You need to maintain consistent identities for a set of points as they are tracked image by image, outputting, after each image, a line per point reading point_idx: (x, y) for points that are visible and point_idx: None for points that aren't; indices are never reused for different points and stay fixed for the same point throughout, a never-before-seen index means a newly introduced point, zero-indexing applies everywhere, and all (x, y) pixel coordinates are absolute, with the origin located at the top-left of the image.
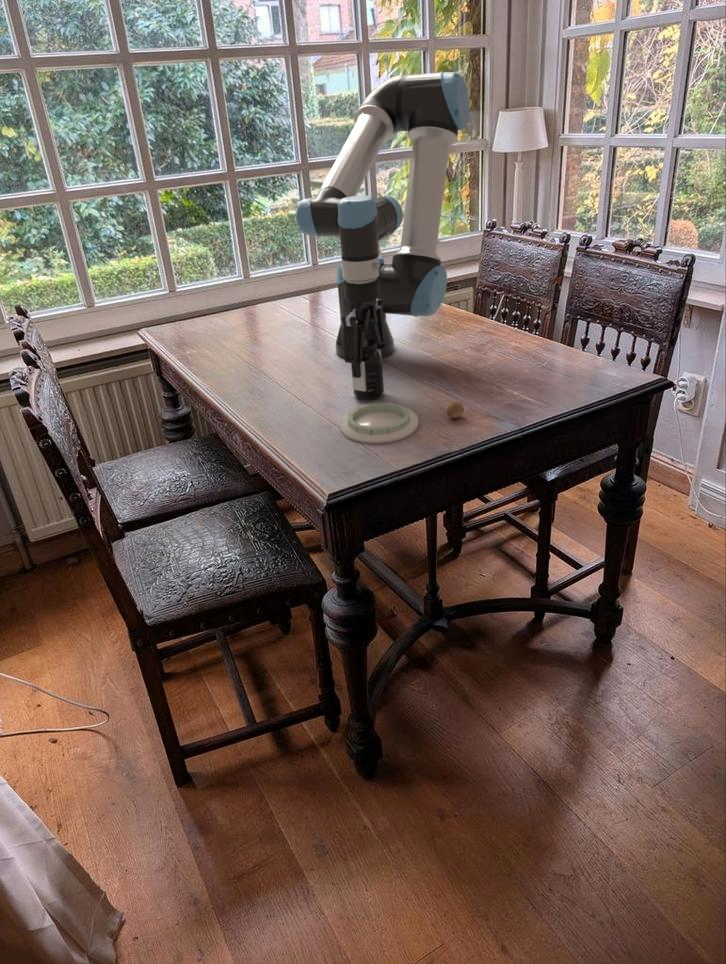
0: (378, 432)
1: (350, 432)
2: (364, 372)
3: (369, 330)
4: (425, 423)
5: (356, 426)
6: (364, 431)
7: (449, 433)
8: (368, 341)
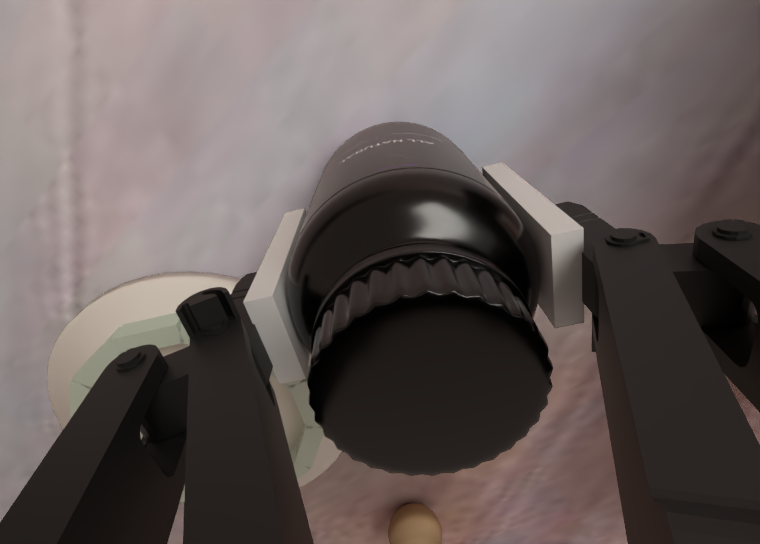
0: None
1: (63, 398)
2: None
3: (626, 432)
4: (329, 477)
5: None
6: None
7: (321, 539)
8: (478, 399)
